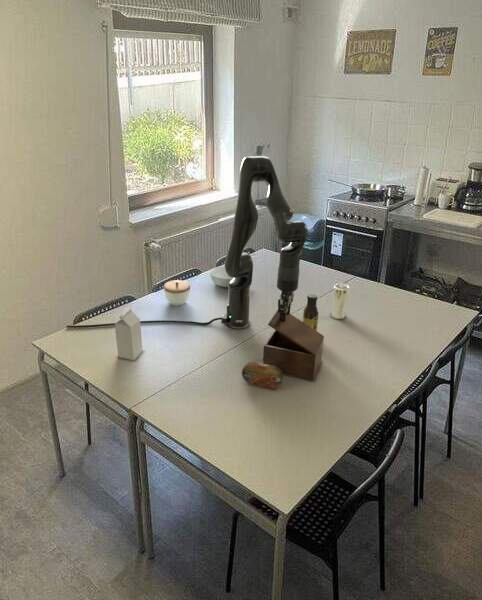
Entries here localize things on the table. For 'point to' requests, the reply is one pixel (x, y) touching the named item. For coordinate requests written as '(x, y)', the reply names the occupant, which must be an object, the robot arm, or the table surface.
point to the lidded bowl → (177, 292)
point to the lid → (297, 332)
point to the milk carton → (128, 336)
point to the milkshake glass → (340, 300)
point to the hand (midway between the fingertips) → (284, 317)
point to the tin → (262, 375)
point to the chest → (291, 357)
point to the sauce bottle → (311, 312)
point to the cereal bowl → (220, 276)
